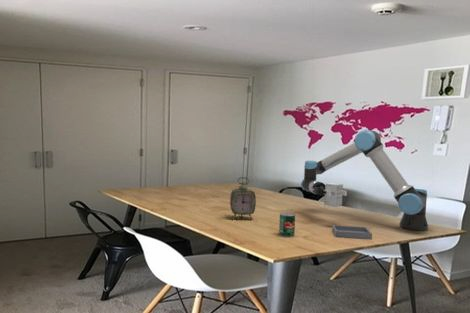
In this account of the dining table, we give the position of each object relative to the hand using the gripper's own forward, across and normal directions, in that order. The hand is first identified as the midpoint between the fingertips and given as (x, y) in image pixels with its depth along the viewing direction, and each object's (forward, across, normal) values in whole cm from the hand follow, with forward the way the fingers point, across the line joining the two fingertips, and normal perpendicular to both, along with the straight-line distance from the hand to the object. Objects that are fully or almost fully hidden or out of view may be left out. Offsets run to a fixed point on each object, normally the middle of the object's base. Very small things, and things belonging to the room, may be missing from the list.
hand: (338, 193), depth 227 cm
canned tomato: (+8, +35, -20) cm, 41 cm away
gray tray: (+13, 0, -20) cm, 24 cm away
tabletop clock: (-32, +45, -20) cm, 58 cm away
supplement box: (-4, 0, -8) cm, 9 cm away
